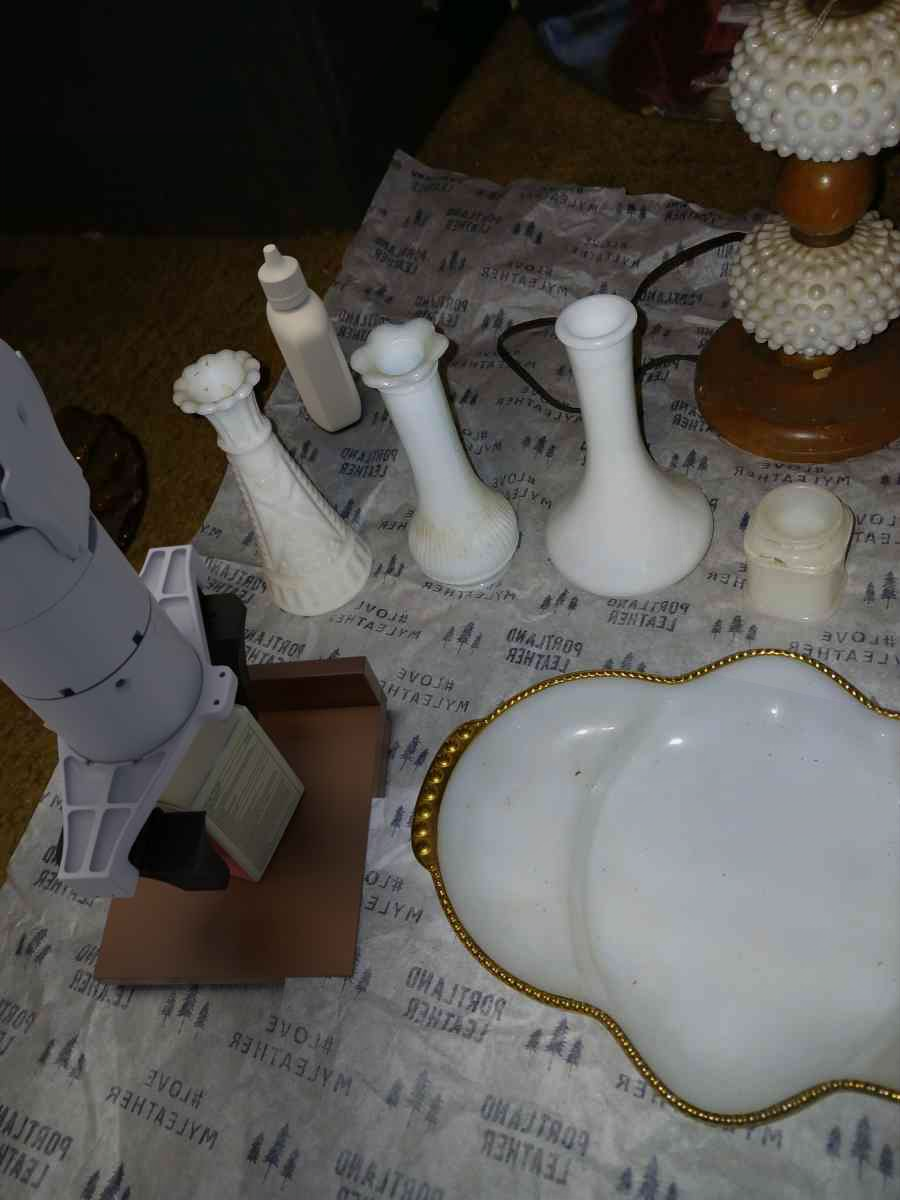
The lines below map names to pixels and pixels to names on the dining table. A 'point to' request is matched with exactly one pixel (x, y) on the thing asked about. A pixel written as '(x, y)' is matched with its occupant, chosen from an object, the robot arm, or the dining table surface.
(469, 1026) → the dining table surface
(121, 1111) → the dining table surface
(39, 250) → the dining table surface
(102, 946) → the shelf
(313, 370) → the eye dropper bottle
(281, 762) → the small box
